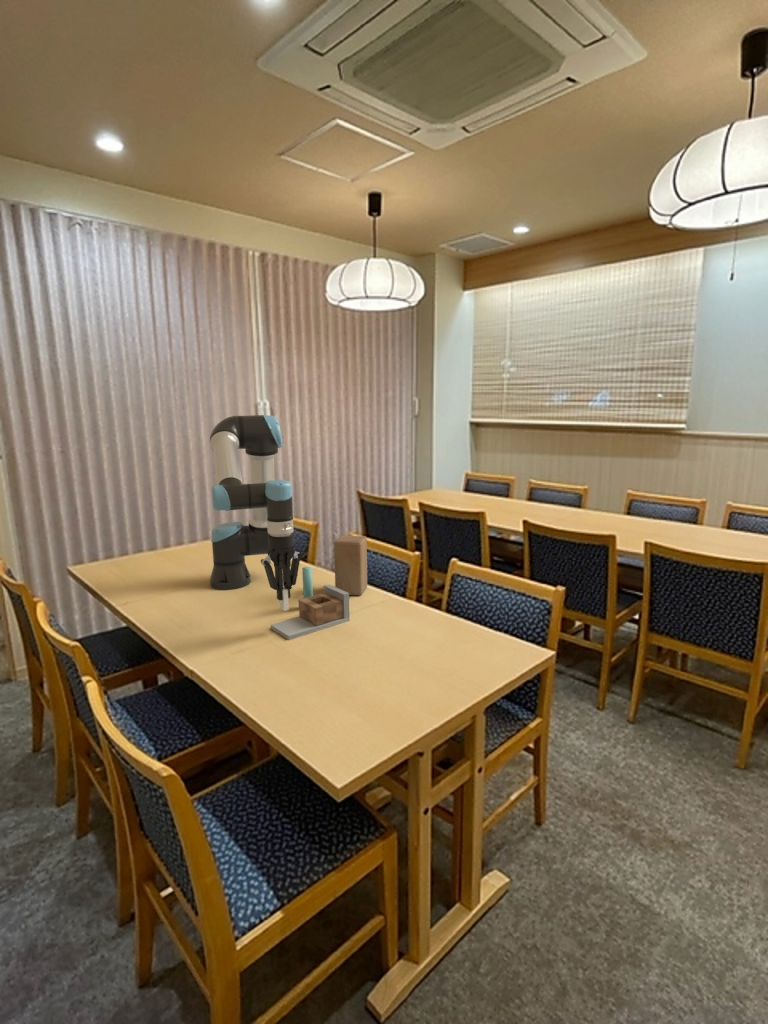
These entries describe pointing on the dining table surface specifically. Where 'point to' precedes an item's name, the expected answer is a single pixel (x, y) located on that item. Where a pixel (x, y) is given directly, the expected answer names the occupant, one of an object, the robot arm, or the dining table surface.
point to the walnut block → (320, 608)
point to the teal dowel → (307, 582)
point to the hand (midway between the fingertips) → (284, 608)
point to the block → (351, 564)
